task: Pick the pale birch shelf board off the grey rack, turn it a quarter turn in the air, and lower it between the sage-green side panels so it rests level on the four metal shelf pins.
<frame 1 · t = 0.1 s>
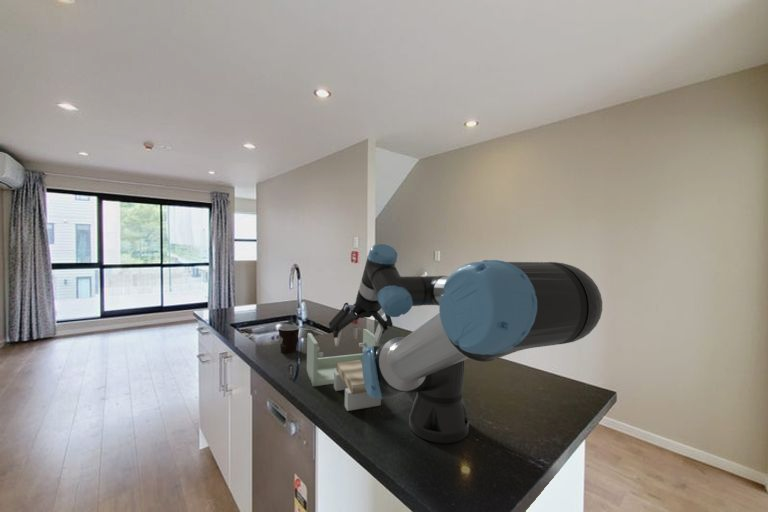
hand: (356, 341, 104), 15 cm above the counter, tool tilted 35°, fingers open, 13 cm apart
shelf board: (356, 379, 98), point 5 cm above the counter, touching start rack
coffee mug: (288, 352, 136), on the counter
shelf unit: (341, 374, 114), on the counter
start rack: (355, 395, 98), on the counter
wooden tablet: (386, 353, 140), on the counter
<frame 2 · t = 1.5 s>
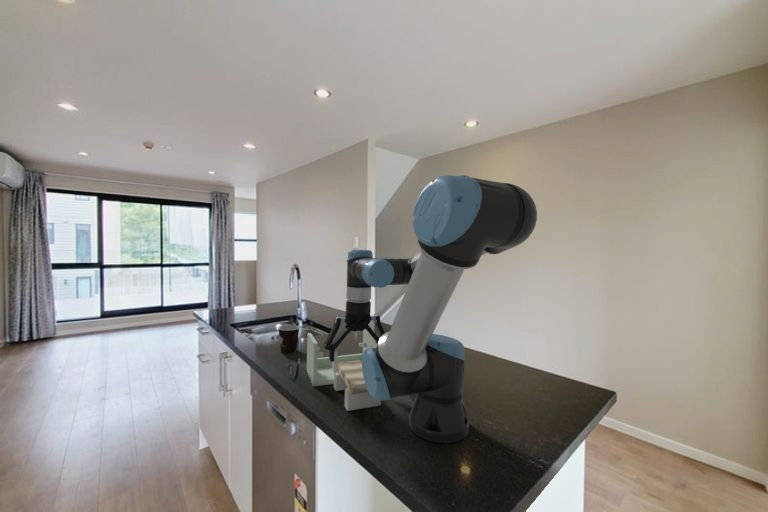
hand: (356, 368, 98), 8 cm above the counter, tool pointing down, fingers open, 13 cm apart
nothing on the counter moved.
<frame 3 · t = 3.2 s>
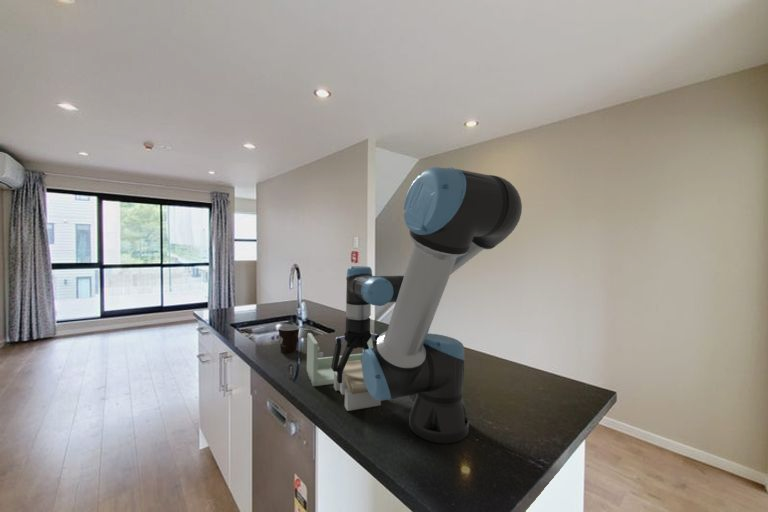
hand: (356, 390, 98), 2 cm above the counter, tool pointing down, fingers closed on shelf board, 8 cm apart
shelf board: (356, 379, 98), point 5 cm above the counter, touching gripper, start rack
everything else where it was.
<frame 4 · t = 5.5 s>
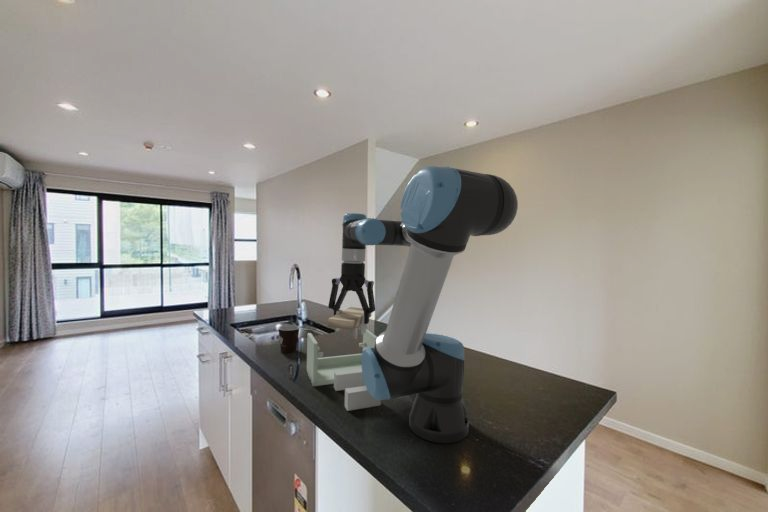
hand: (350, 331, 104), 18 cm above the counter, tool pointing down, fingers closed on shelf board, 8 cm apart
shelf board: (351, 321, 104), point 21 cm above the counter, touching gripper
everything else where it was.
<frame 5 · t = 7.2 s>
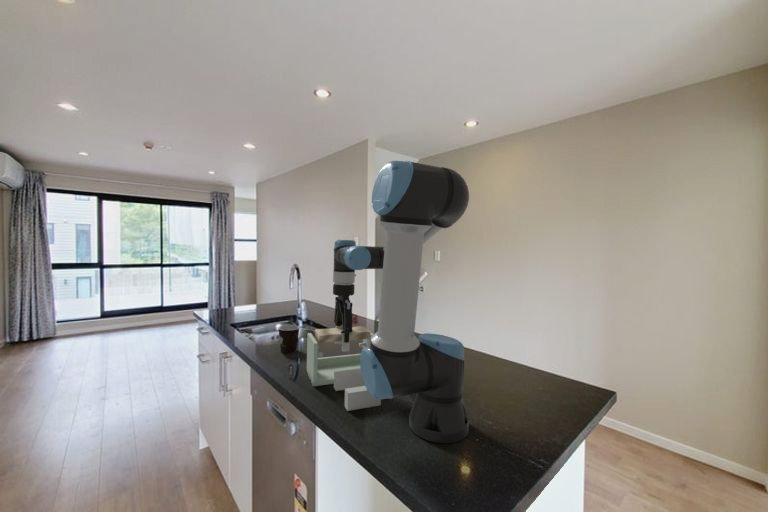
hand: (342, 347, 114), 10 cm above the counter, tool pointing down, fingers closed on shelf board, 8 cm apart
shelf board: (342, 337, 114), point 13 cm above the counter, touching gripper
everything else where it was.
when the fingers open (8 cm above the counter, at t = 8.3 s): shelf board drops 2 cm, resting on shelf unit.
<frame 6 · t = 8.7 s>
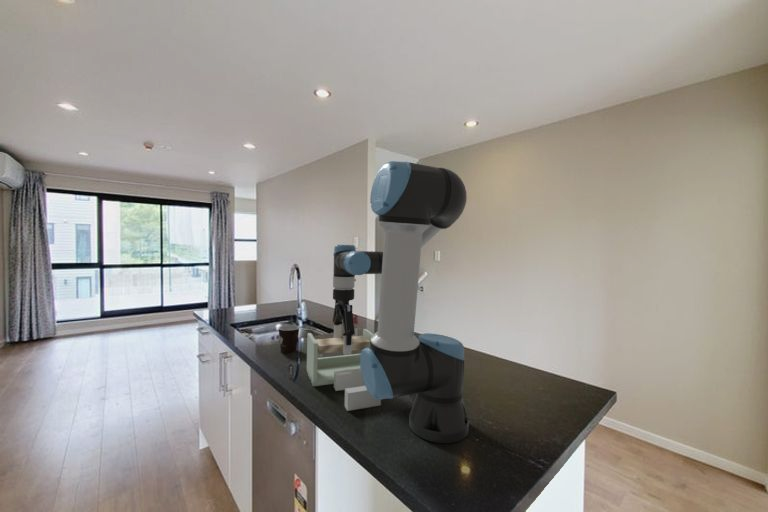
hand: (342, 348, 114), 9 cm above the counter, tool pointing down, fingers open, 13 cm apart
shelf board: (342, 347, 114), point 10 cm above the counter, touching shelf unit
everything else where it was.
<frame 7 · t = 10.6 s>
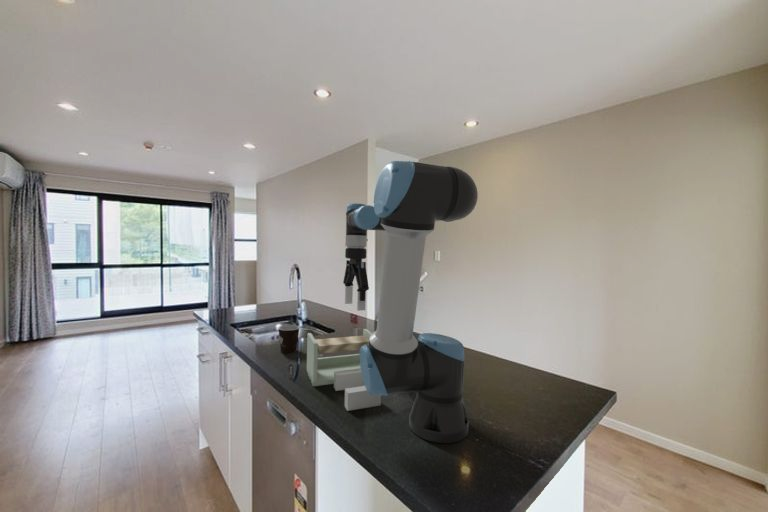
hand: (354, 306, 115), 24 cm above the counter, tool pointing down, fingers open, 13 cm apart
nothing on the counter moved.
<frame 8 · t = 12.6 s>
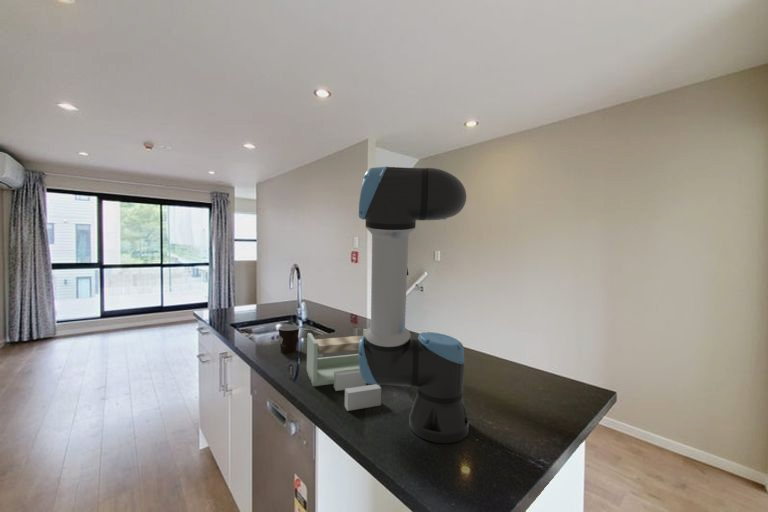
hand: (392, 291, 123), 29 cm above the counter, tool pointing down, fingers open, 13 cm apart
nothing on the counter moved.
at the end: shelf board 0.0 cm off-centre on the shelf unit, point 9.7 cm above the shelf unit's base; shelf board tilted 0°; the gripper is holding nothing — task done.
